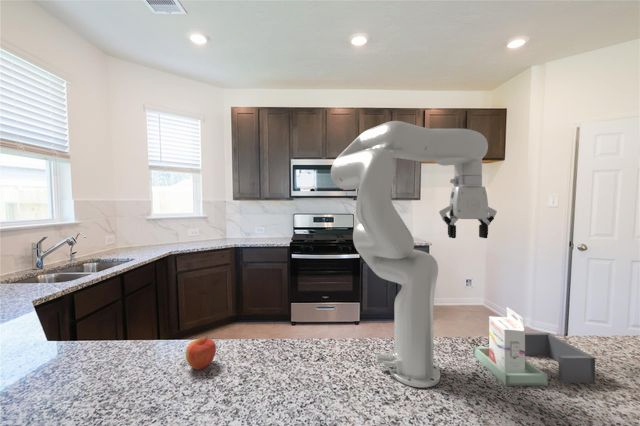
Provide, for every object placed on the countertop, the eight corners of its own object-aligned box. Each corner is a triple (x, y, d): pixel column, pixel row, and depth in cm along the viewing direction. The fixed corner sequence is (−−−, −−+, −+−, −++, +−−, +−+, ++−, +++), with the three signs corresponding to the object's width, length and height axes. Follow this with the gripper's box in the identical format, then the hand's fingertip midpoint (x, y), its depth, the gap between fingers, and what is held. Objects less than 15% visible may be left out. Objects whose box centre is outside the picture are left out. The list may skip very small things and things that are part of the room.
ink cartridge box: (487, 357, 74) (487, 304, 74) (507, 358, 73) (507, 305, 73) (503, 376, 65) (504, 317, 65) (526, 378, 64) (526, 318, 64)
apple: (183, 365, 71) (182, 336, 71) (211, 356, 76) (211, 328, 76) (189, 379, 65) (189, 347, 65) (219, 368, 70) (219, 338, 70)
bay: (562, 382, 64) (562, 358, 64) (520, 353, 77) (520, 333, 77) (595, 382, 64) (595, 357, 64) (548, 353, 77) (548, 332, 77)
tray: (505, 385, 63) (505, 375, 62) (473, 355, 76) (473, 347, 75) (547, 385, 63) (547, 375, 63) (507, 355, 76) (507, 346, 76)
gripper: (446, 181, 78) (445, 239, 78) (504, 181, 78) (503, 239, 78) (434, 184, 85) (434, 236, 85) (487, 183, 85) (487, 236, 86)
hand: (467, 237), depth 82 cm, fingers open, 9 cm apart
